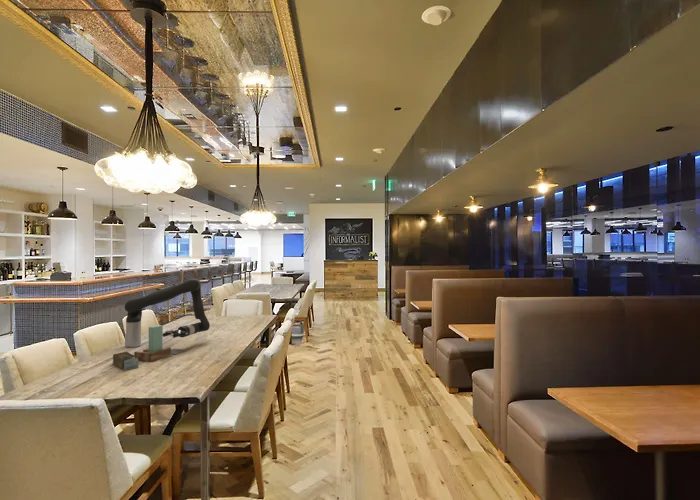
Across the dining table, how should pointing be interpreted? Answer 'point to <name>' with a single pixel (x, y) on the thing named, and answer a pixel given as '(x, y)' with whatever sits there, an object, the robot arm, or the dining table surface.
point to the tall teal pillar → (155, 338)
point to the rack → (153, 355)
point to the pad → (177, 351)
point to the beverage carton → (125, 360)
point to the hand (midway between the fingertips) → (168, 335)
